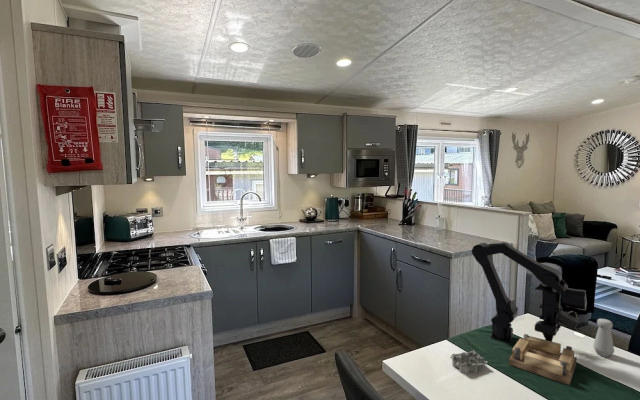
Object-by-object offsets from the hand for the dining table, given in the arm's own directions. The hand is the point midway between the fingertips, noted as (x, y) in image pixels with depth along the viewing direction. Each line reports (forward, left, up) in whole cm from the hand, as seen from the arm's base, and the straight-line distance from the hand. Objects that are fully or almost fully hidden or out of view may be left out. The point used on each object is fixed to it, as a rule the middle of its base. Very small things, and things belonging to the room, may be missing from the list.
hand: (549, 343), depth 122 cm
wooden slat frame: (0, -11, -3) cm, 11 cm away
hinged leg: (-2, -4, -1) cm, 5 cm away
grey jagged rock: (-19, -30, -4) cm, 36 cm away
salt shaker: (+15, +11, -3) cm, 19 cm away
